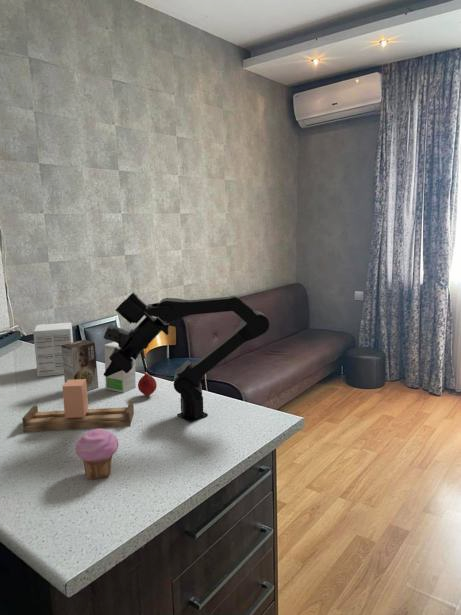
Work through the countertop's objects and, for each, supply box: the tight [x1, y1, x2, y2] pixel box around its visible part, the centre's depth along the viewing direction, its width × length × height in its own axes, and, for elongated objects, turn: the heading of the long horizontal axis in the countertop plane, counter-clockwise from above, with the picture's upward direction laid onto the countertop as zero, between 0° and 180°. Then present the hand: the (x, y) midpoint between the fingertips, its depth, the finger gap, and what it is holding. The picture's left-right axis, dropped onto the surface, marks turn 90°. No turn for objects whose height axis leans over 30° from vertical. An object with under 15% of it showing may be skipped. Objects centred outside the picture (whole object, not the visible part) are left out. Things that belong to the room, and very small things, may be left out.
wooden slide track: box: [21, 400, 135, 433], centre depth 126 cm, size 28×9×4 cm, turn 95°
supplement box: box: [32, 322, 74, 378], centre depth 174 cm, size 13×13×18 cm
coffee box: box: [61, 339, 99, 392], centre depth 152 cm, size 9×6×16 cm
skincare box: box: [104, 341, 137, 394], centre depth 152 cm, size 8×7×16 cm
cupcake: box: [75, 428, 119, 480], centre depth 98 cm, size 9×9×10 cm
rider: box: [62, 379, 89, 418], centre depth 125 cm, size 5×6×10 cm
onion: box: [137, 372, 158, 397], centre depth 145 cm, size 6×6×8 cm
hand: (104, 375), depth 124 cm, fingers closed
